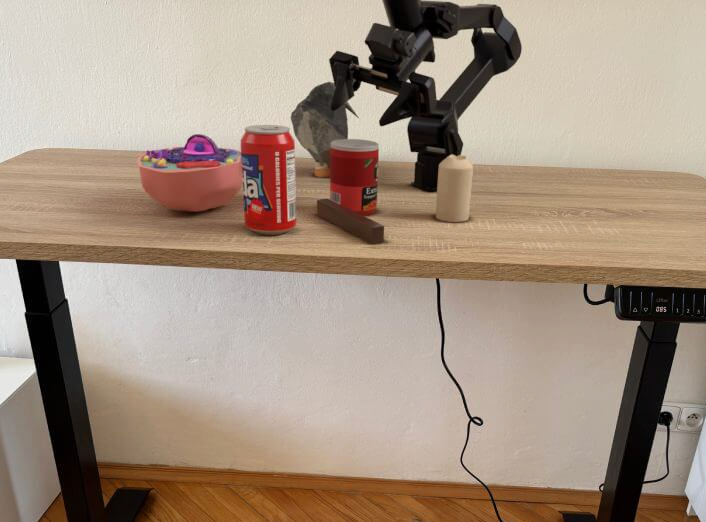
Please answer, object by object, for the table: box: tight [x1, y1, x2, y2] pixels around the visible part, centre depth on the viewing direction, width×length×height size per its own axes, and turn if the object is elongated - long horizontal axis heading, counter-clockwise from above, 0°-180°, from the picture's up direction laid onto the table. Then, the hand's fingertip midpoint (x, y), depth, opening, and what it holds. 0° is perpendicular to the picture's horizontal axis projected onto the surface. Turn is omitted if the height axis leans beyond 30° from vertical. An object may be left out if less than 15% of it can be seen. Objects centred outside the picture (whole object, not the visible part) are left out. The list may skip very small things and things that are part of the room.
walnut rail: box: [316, 198, 385, 245], centre depth 122 cm, size 2×18×2 cm, turn 31°
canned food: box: [329, 138, 380, 216], centre depth 130 cm, size 8×8×11 cm
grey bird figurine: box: [290, 81, 360, 178], centre depth 153 cm, size 14×15×18 cm
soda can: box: [240, 124, 297, 236], centre depth 117 cm, size 8×8×15 cm
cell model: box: [136, 133, 243, 213], centre depth 127 cm, size 17×20×11 cm
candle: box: [435, 154, 474, 223], centre depth 127 cm, size 6×6×10 cm
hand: (355, 116), depth 124 cm, fingers open, 9 cm apart
